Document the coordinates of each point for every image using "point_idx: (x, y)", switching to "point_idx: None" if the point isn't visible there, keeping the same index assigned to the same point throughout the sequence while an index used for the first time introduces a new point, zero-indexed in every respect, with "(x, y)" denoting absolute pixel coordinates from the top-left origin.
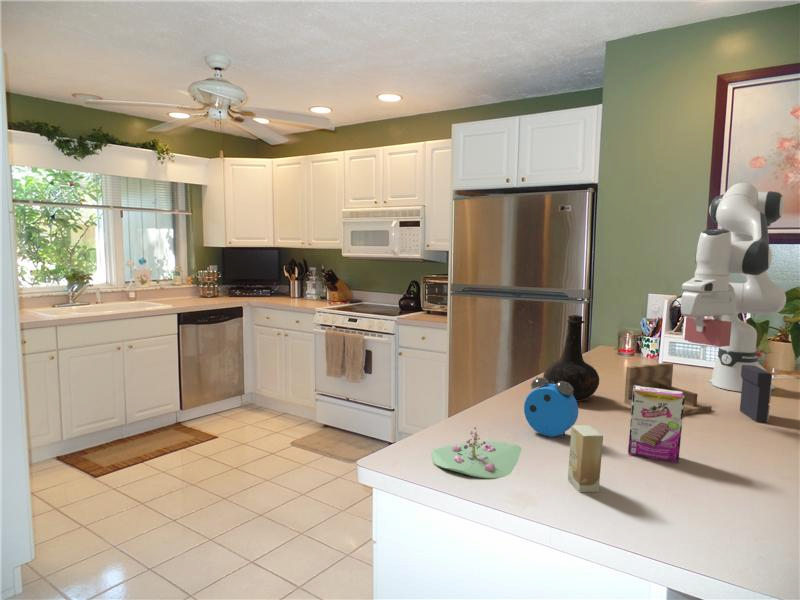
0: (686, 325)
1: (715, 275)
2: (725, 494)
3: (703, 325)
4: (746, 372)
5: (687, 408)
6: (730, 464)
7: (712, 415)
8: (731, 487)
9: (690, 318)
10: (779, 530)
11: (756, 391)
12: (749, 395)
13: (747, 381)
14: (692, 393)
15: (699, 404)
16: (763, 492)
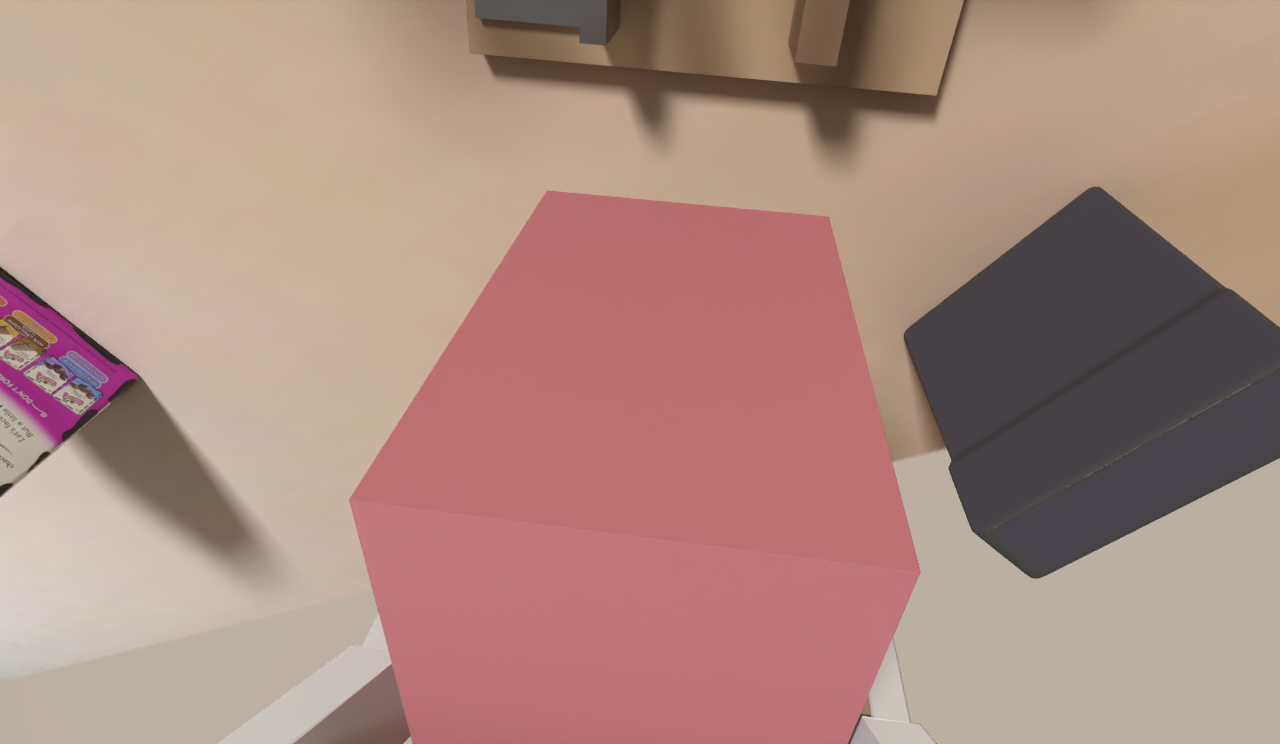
0: (455, 363)
1: None
2: (115, 544)
3: (406, 727)
4: (1148, 390)
5: (701, 51)
6: (286, 481)
7: (813, 153)
8: (161, 537)
9: (381, 602)
10: (119, 635)
11: (969, 420)
12: (1037, 331)
13: (1119, 352)
14: (808, 37)
15: (897, 25)
16: (227, 578)
